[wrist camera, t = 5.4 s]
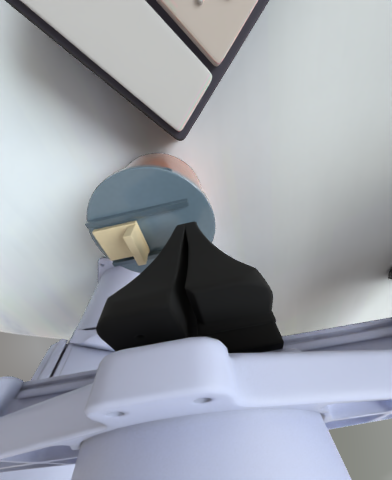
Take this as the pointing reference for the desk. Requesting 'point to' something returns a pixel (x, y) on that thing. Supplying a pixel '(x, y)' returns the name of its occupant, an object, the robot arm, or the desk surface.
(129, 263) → the tumbler
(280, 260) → the desk surface
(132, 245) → the lid slider
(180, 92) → the dark grey flat box
